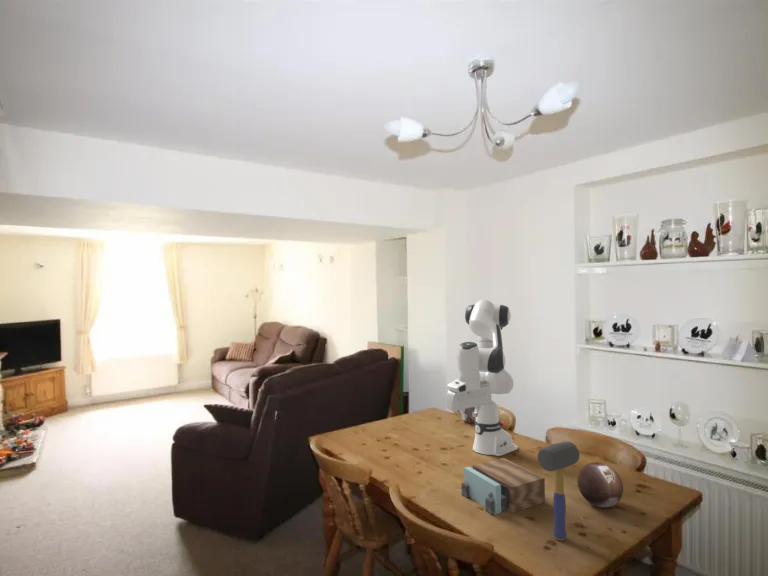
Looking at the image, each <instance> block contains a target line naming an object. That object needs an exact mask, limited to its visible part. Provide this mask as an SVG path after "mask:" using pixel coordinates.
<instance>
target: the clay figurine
mask: <svg viewBox="0 0 768 576" xmlns="http://www.w3.org/2000/svg"><path fill="white" fill-rule="evenodd" d="M474 410H475V407H471V408H467V409H465V411H464V413H465V414H466V415H467V419H465V420H463V423H469V424H470V423H471V422H472V423H475V419H476V417H473V414H472V412H474ZM457 412H458V413H459V414H460V415H461V413H460V411H459V410H457Z"/></svg>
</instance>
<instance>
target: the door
mask: <svg viewBox="0 0 768 576" xmlns="http://www.w3.org/2000/svg"><path fill="white" fill-rule="evenodd" d="M463 472H464V473H463V479H464V480H463V481H464V482H463V483H466V484H467V485H469V498H471V499H472V500H474V501H476V503H478V504H480V505H482V507H484V508H485V498H489V499H491V500H492V501H494V514H495V515H498V514H501V513H502V511H501V485H500V484H499V483H497V482H495V481H493V480H492V479H490V478H488V477H486V476H485V475H483V474H481V473H479V472H478V471H476V470H474V469H473V467H470V466H466V467H463Z"/></svg>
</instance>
